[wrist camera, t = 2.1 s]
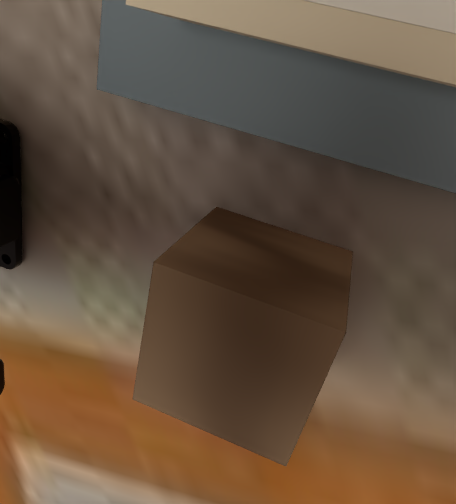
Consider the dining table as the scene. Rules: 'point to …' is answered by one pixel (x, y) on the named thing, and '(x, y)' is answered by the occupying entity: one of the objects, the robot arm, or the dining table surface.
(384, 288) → the dining table surface
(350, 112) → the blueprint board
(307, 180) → the dining table surface
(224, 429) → the walnut block
